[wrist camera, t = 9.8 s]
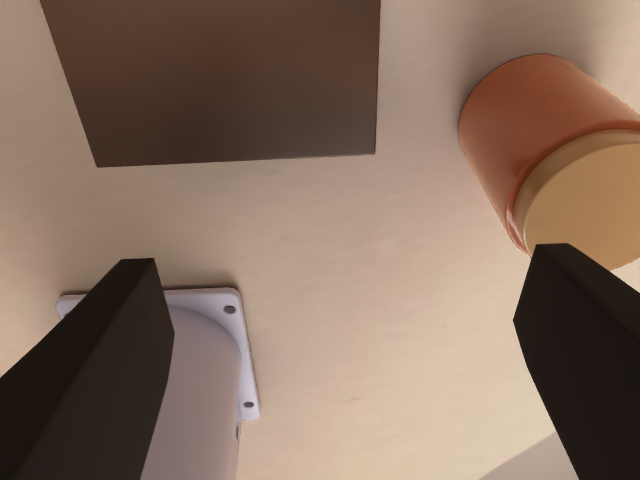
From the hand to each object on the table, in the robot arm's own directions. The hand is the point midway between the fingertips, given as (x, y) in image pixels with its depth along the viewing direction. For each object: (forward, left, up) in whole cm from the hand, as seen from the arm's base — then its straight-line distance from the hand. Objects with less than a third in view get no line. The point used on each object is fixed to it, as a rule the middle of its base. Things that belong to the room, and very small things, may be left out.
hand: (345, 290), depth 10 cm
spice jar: (-1, -7, -9) cm, 12 cm away
